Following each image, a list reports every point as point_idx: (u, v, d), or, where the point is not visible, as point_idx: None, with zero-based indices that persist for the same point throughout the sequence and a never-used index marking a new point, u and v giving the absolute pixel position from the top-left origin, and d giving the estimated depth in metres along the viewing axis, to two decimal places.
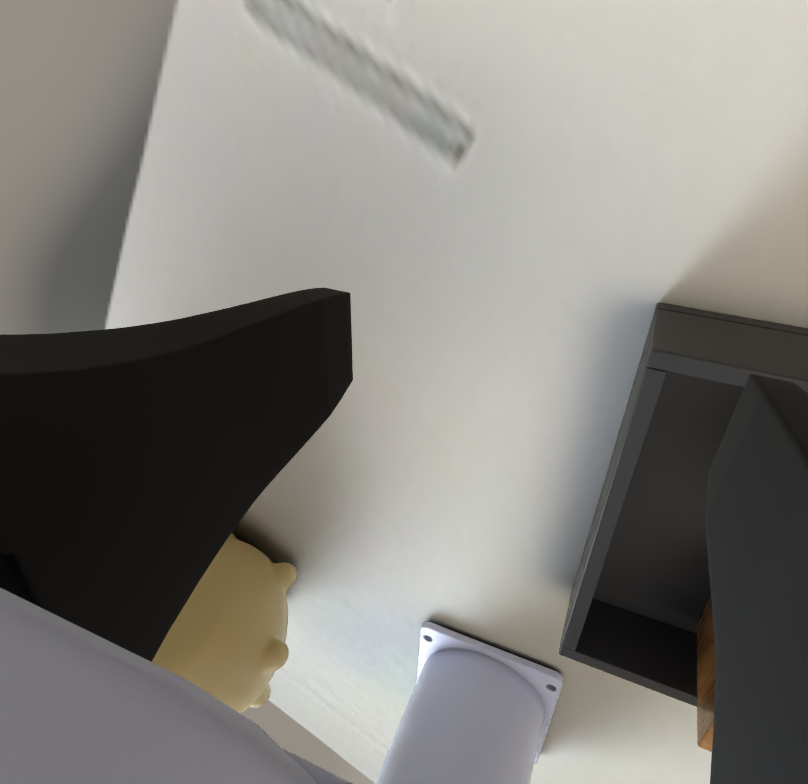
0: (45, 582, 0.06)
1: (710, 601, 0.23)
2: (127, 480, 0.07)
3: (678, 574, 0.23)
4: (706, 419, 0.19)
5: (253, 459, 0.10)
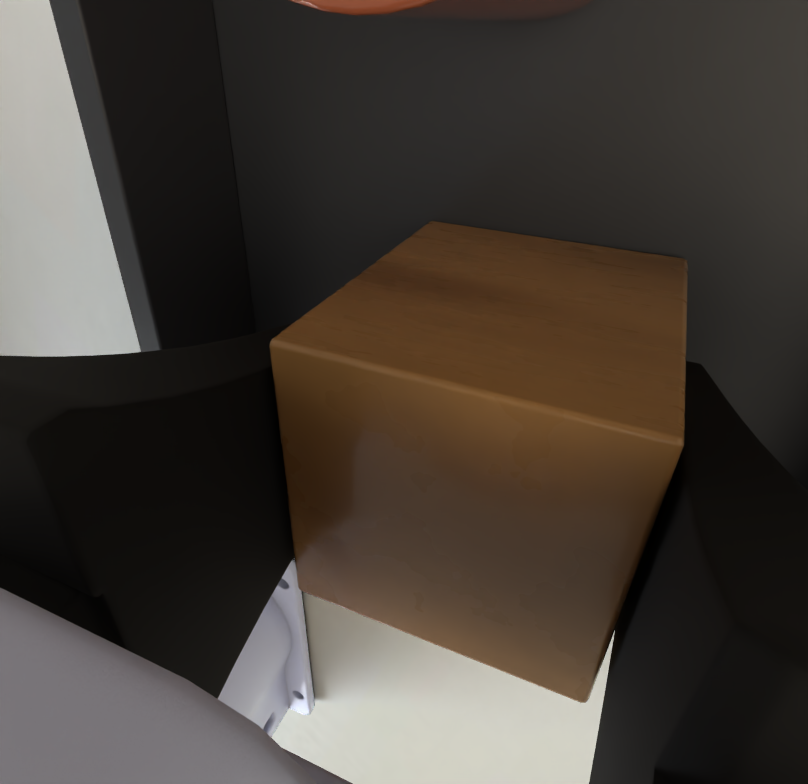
0: (130, 622, 0.06)
1: None
2: (207, 510, 0.07)
3: None
4: None
5: None
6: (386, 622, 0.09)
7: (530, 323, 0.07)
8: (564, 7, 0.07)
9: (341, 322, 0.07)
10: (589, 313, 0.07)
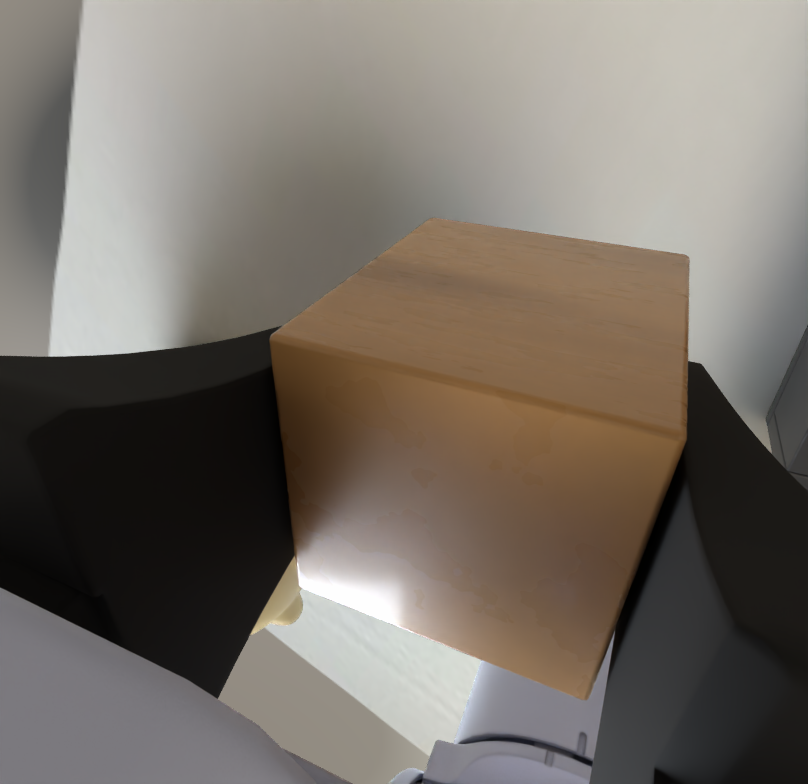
0: (130, 622, 0.06)
1: None
2: (207, 510, 0.07)
3: None
4: None
5: None
6: (386, 621, 0.09)
7: (532, 319, 0.07)
8: None
9: (342, 317, 0.07)
10: (591, 308, 0.07)
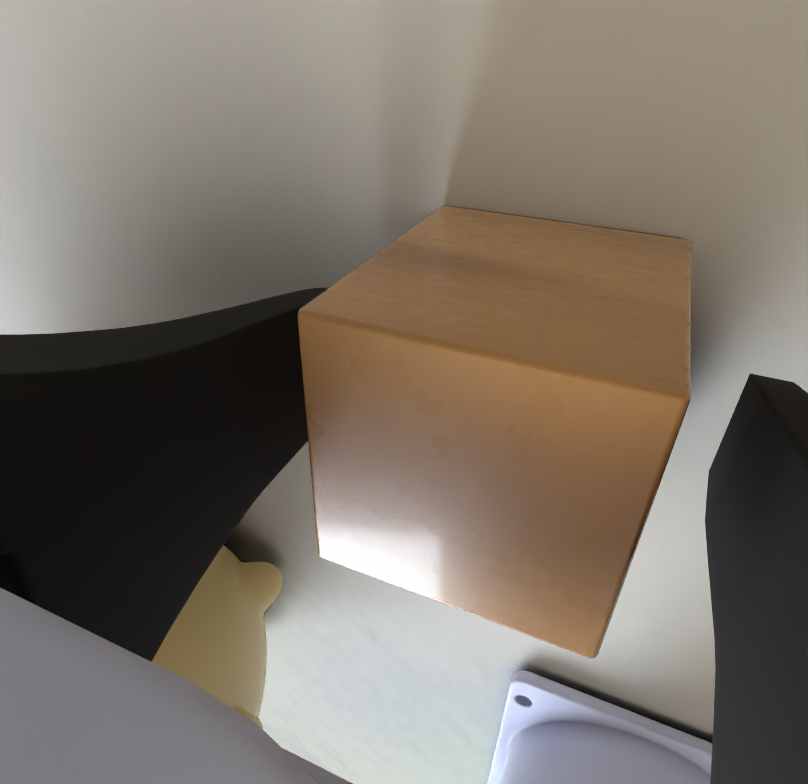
0: (45, 582, 0.06)
1: None
2: (127, 480, 0.07)
3: None
4: None
5: (253, 459, 0.10)
6: (404, 586, 0.09)
7: (542, 296, 0.08)
8: None
9: (364, 294, 0.08)
10: (599, 287, 0.08)
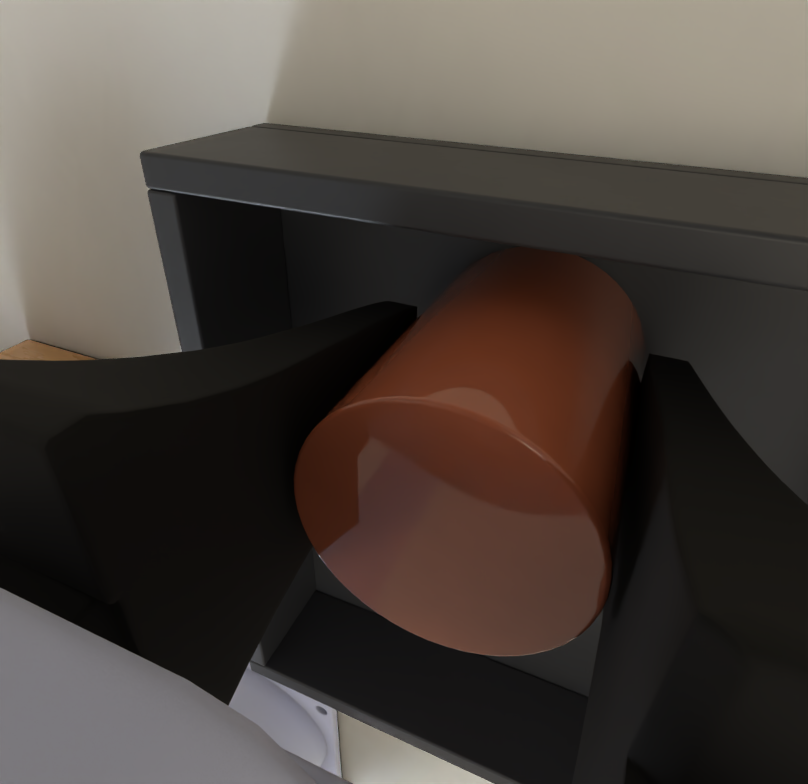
0: (144, 629, 0.06)
1: None
2: (220, 515, 0.07)
3: None
4: None
5: None
6: None
7: None
8: None
9: None
10: None
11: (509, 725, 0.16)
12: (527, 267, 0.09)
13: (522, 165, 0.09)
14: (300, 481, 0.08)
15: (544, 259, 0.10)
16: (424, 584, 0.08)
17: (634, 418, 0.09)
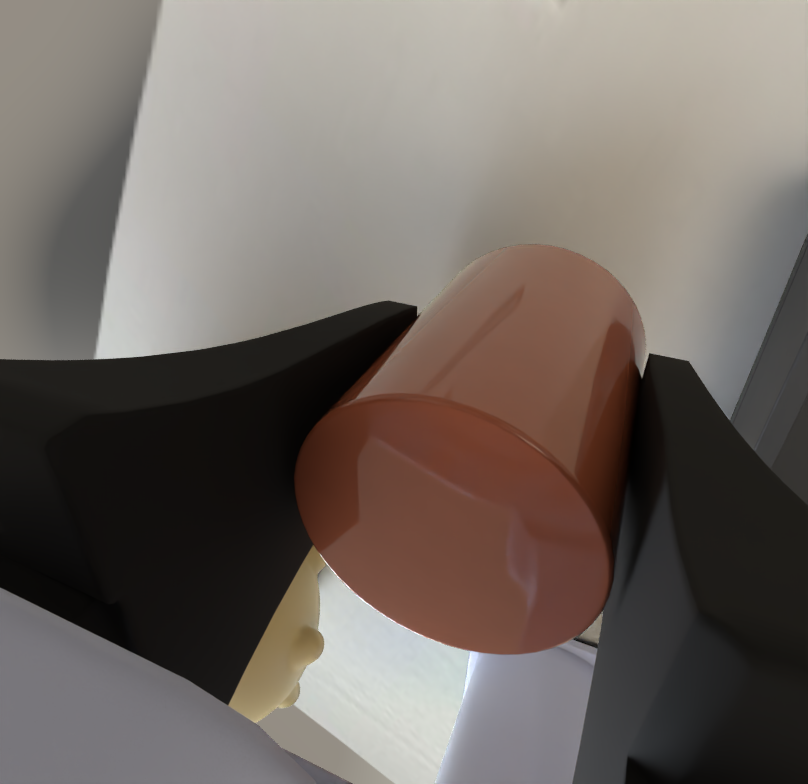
0: (144, 629, 0.06)
1: None
2: (220, 515, 0.07)
3: None
4: None
5: None
6: None
7: None
8: None
9: None
10: None
11: None
12: (528, 265, 0.09)
13: None
14: (301, 479, 0.08)
15: (545, 257, 0.10)
16: (426, 582, 0.08)
17: (635, 416, 0.09)
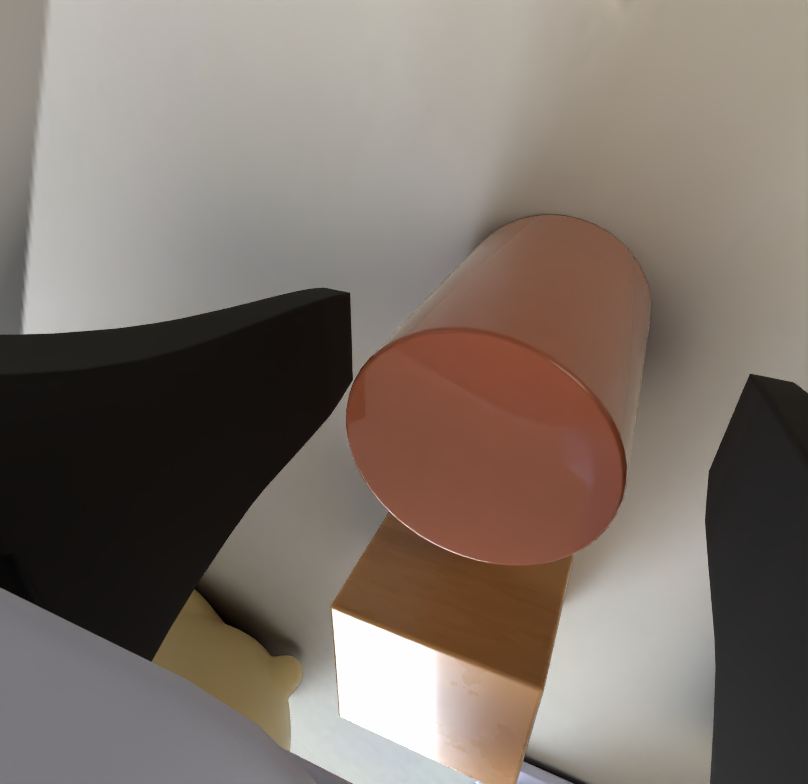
0: (45, 582, 0.06)
1: None
2: (126, 480, 0.07)
3: None
4: None
5: (253, 459, 0.10)
6: (394, 741, 0.14)
7: (476, 585, 0.13)
8: None
9: (370, 586, 0.13)
10: (512, 573, 0.13)
11: None
12: (546, 231, 0.11)
13: None
14: (353, 411, 0.09)
15: (561, 225, 0.11)
16: (461, 501, 0.09)
17: (642, 362, 0.10)
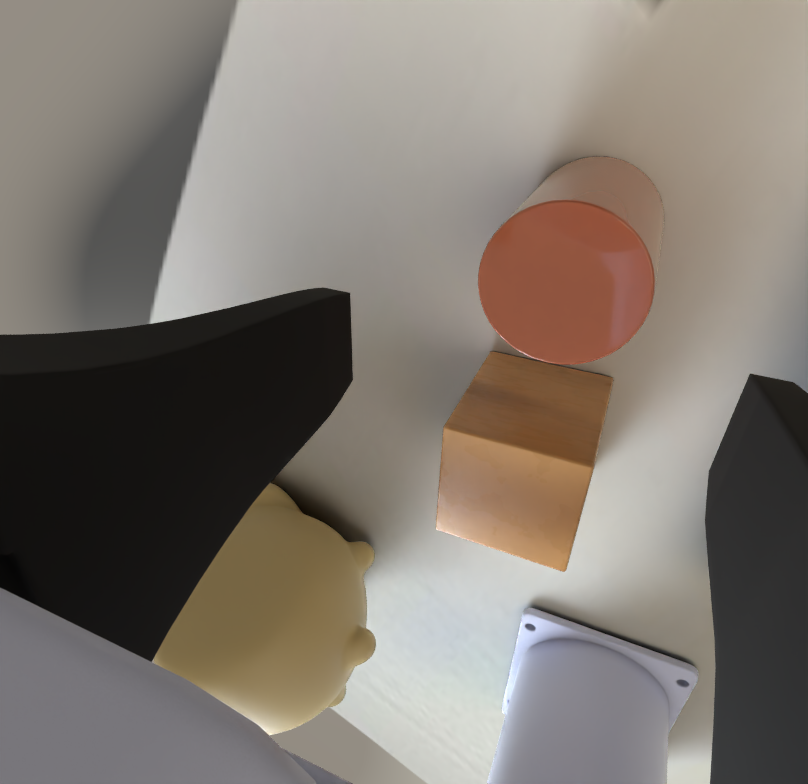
0: (45, 582, 0.06)
1: None
2: (127, 480, 0.07)
3: None
4: None
5: (253, 459, 0.10)
6: (478, 542, 0.20)
7: (542, 417, 0.18)
8: None
9: (468, 417, 0.18)
10: (566, 412, 0.19)
11: None
12: (596, 163, 0.16)
13: None
14: (485, 264, 0.14)
15: (605, 161, 0.16)
16: (551, 320, 0.14)
17: (660, 243, 0.15)
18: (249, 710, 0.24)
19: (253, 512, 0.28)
